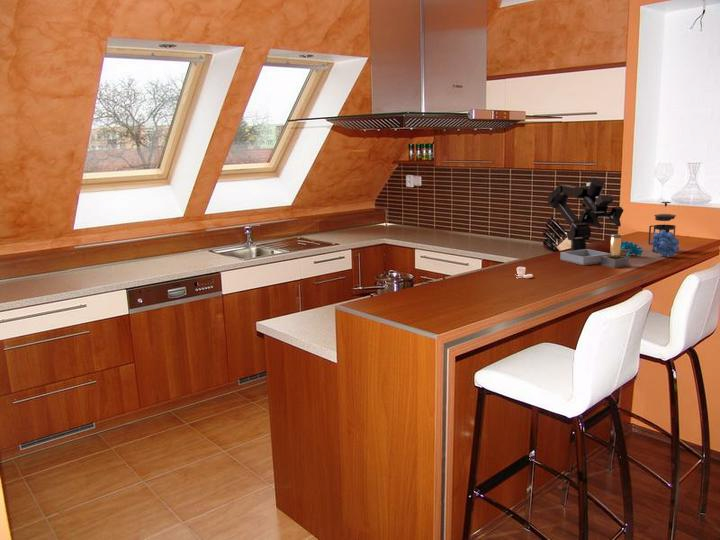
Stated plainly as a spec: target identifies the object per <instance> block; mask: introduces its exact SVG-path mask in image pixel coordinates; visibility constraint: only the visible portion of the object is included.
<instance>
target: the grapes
mask: <svg viewBox="0 0 720 540" xmlns="http://www.w3.org/2000/svg"><path fill="white" fill-rule="evenodd" d="M653 233H654V232H653ZM654 238H655V239H653V238H652V239H651V241H650V243H652V244H653V245H655V247H654V250H655V251H656V252H660V253H659V254H660V256H661V257H664V258H666V257H667V256H668V257H670V258H673V257H675V253H678V252H679V251H680V247H679V244H680V241H679V239H678V238H676V237H675V238H674V232H670V231H669V232H668V233H667V232H666V231H665V230H661V231H660V234H659V232H656V231H655V233H654ZM653 245H652V246H653ZM656 252H655V253H656Z"/></svg>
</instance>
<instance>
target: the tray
mask: <svg viewBox="0 0 720 540" xmlns="http://www.w3.org/2000/svg"><path fill="white" fill-rule="evenodd" d="M559 253H560V255H559V256H560V258H559V259H560V261H563V262H568V263H573V264H575V265H580V266H589V265H596V264H601V257H604V256H610V252H609V253H608V252H604V251H599V250H594V249H588V248H586V249H583V250H575V251H571V250H568V251H560V252H559Z"/></svg>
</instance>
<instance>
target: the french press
mask: <svg viewBox="0 0 720 540" xmlns="http://www.w3.org/2000/svg"><path fill="white" fill-rule="evenodd" d="M671 203H672V201H662V202H660V204H664V207H665V208H664V213H659V214H654V217H655V218H654V220H655V221H659V222H664V223H663V224H654V225H652V224H651V225H649V227H648V229H649V231H648V245H652V250H651V252H653V253H656V254H660V252H656V251H655V250H654V247H655V245H653V244H652V243H651V240H652V239H655V238H654V233H656V230H658V231H659V232H658V233H659V234H660V231H661V230H665V231H666V232H667V233H668V232H670V230H673V234H674V238H676V227H677V226H676V225H675V224H666V222H670V221H671V220H674V219H675V218H676V217H677V215H676V214H671V213H667V207H668V204H671ZM652 227H653V232H652ZM652 233H653V236H652ZM651 237H653V238H652V239H651Z"/></svg>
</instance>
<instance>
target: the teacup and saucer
mask: <svg viewBox="0 0 720 540" xmlns="http://www.w3.org/2000/svg"><path fill="white" fill-rule="evenodd" d="M516 272H517V274H518V275H517V276H518V278H526V279H530V278H533V276H534V274H532V273H527V274H526V266H525V267H524V266H518V267H516ZM525 274H526V275H525Z"/></svg>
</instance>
